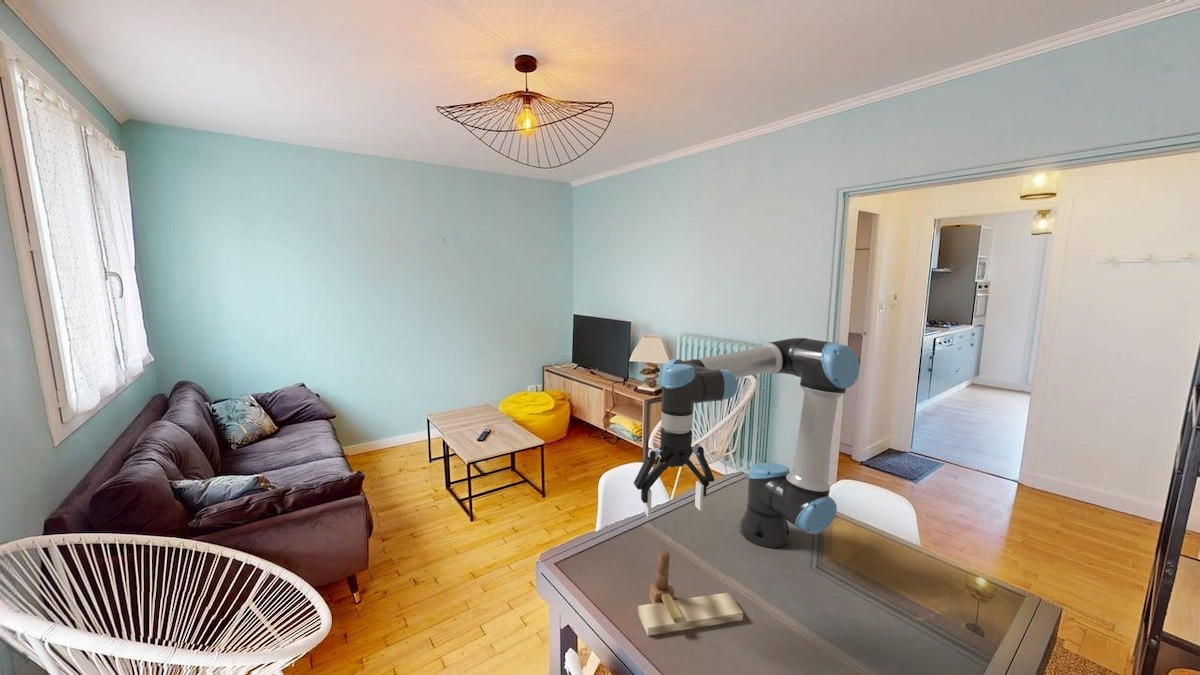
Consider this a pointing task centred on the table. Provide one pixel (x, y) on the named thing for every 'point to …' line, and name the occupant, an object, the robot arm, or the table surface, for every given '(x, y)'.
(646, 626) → the board
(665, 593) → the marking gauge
